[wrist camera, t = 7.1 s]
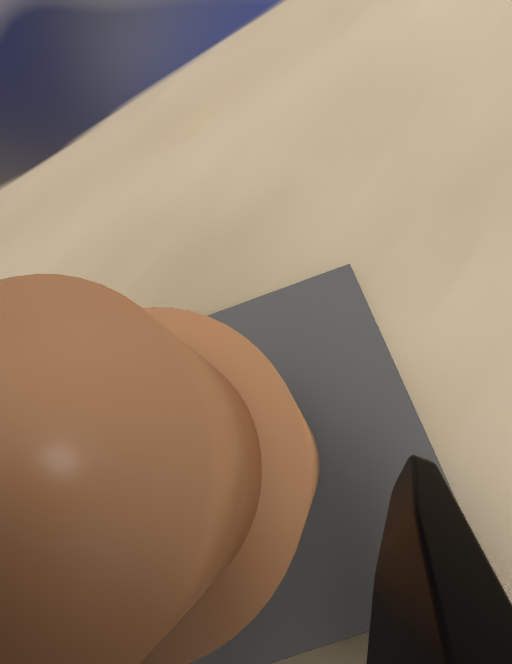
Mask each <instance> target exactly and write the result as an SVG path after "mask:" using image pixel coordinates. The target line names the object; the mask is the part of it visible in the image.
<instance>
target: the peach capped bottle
mask: <svg viewBox="0 0 512 664" xmlns="http://www.w3.org/2000/svg"><path fill="white" fill-rule="evenodd" d="M319 475H320V455H319V450H318V446H317V443H316V440H315V438H314V436H313V434H312V432H311V430H310V428H309V426H308V424H307V422H306V420H305V419H304V417H303V415H302V413H301V411H300V409H299V408H298V406H297V404H296V402H295V400H294V398H293V396H292V395H291V393H290V391H289V389H288V387H287V385H286V384H285V382H284V380H283V379H282V377H281V376H280V374H279V373H278V371H277V370H276V369H275V367H274V366H273V364H272V363H271V362H270V361H269V360H268V359H267V357H266V356H265V355H264V354H263V353H262V352H261V351H260V350H259V349H258V348H257V347H256V346H255V345H254V344H253V343H251V342H250V341H249V340H248V339H247V338H246V337H244V336H243V335H242V334H240V333H239V332H237V331H235V330H234V329H232V328H231V327H229V326H228V325H226V324H224V323H222V322H219V321H217V320H215V319H213V318H211V317H208V316H205V315H202V314H199V313H195V312H192V311H187V310H181V309H175V308H155V307H152V308H141V307H140V306H139V305H137V304H136V303H134V302H133V301H131V300H130V299H128V298H127V297H125V296H124V295H122V294H120V293H118V292H116V291H114V290H112V289H110V288H108V287H106V286H104V285H102V284H98V283H95V282H92V281H89V280H85V279H82V278H77V277H71V276H64V275H57V274H33V275H24V276H16V277H10V278H6V279H2V280H0V664H189V663H191V662H193V661H196V660H198V659H200V658H202V657H204V656H206V655H208V654H210V653H212V652H213V651H215V650H216V649H218V648H219V647H221V646H222V645H224V644H225V643H227V642H228V641H229V640H231V639H232V638H234V637H235V636H236V635H237V634H238V633H239V632H240V631H241V630H242V629H244V628H245V627H246V626H247V625H248V624H249V623H250V622H251V621H252V620H253V619H254V618H255V617H256V616H257V614H258V613H259V612H260V611H261V610H262V608H263V607H264V606H265V605H266V603H267V602H268V601H269V600H270V599H271V597H272V595H273V594H274V592H275V590H276V589H277V587H278V586H279V584H280V582H281V581H282V579H283V578H284V576H285V574H286V572H287V569H288V567H289V565H290V563H291V561H292V558H293V556H294V554H295V552H296V549H297V546H298V543H299V540H300V537H301V534H302V531H303V528H304V525H305V522H306V519H307V516H308V512H309V509H310V506H311V503H312V500H313V497H314V494H315V491H316V488H317V485H318V481H319Z"/></svg>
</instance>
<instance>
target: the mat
mask: <svg viewBox="0 0 512 664" xmlns="http://www.w3.org/2000/svg"><path fill="white" fill-rule="evenodd" d="M208 317H211V318H213V319H215V320H217V321H219V322H222V323H224V324H226V325H228V326H229V327H231V328H232V329H234V330H235V331H237V332H239V333H240V334H242V335H243V336H244V337H246V338H247V339H248V340H249V341H250V342H251V343H253V344H254V345H255V346H256V347H257V348H258V349H259V350H260V351H261V352H262V353H263V354H264V355H265V356H266V357H267V359H268V360H269V361H270V362H271V363H272V364H273V366H274V367H275V369H276V370H277V371H278V373H279V374H280V376H281V377H282V379H283V380H284V382H285V384H286V385H287V387H288V389H289V391H290V393H291V395H292V396H293V398H294V400H295V402H296V404H297V406H298V408H299V409H300V411H301V413H302V415H303V417H304V419H305V420H306V422H307V424H308V426H309V428H310V430H311V432H312V434H313V436H314V438H315V440H316V443H317V446H318V450H319V455H320V475H319V481H318V485H317V488H316V491H315V494H314V497H313V500H312V503H311V506H310V509H309V512H308V516H307V519H306V522H305V525H304V528H303V531H302V534H301V537H300V540H299V543H298V546H297V549H296V552H295V554H294V556H293V558H292V561H291V563H290V565H289V567H288V569H287V572H286V574H285V576H284V578H283V579H282V581H281V582H280V584H279V586H278V587H277V589H276V590H275V592H274V594H273V595H272V597H271V599H270V600H269V601H268V602H267V603H266V605H265V606H264V607H263V608H262V610H261V611H260V612H259V613H258V614H257V616H256V617H255V618H254V619H253V620H252V621H251V622H250V623H249V624H248V625H247V626H246V627H245V628H244V629H242V630H241V631H240V632H239V633H238V634H237V635H236V636H235V637H234V638H232V639H231V640H229V641H228V642H227V643H225V644H224V645H222V646H221V647H219V648H218V649H216V650H215V651H213V652H212V653H210V654H208V655H206V656H204V657H202V658H200V659H198V660H196V661H193V662H191V663H189V664H270V663H273V662H276V661H279V660H282V659H285V658H288V657H291V656H294V655H297V654H301V653H304V652H307V651H310V650H313V649H316V648H319V647H322V646H325V645H328V644H331V643H334V642H337V641H340V640H343V639H346V638H349V637H352V636H355V635H358V634H361V633H364V632H367V631H370V620H371V608H372V596H373V586H374V577H375V571H376V566H377V560H378V556H379V551H380V546H381V541H382V536H383V532H384V527H385V522H386V517H387V512H388V508H389V503H390V498H391V494H392V490H393V487H394V485H395V483H396V481H397V479H398V477H399V475H400V473H401V471H402V469H403V467H404V465H405V463H406V461H407V460H408V458H409V457H410V456H411V455H417V456H420V457H423V458H425V459H428V460H430V461H433V462H434V463H435V464H436V465H437V466H438V468H439V470H440V472H441V473H442V475H443V477H444V479H445V481H446V483H447V485H448V487H449V488H450V486H449V483H448V481H447V479H446V477H445V475H444V472H443V470H442V468H441V466H440V463H439V461H438V459H437V457H436V455H435V452H434V450H433V448H432V446H431V444H430V441H429V439H428V437H427V435H426V432H425V430H424V428H423V426H422V424H421V421H420V419H419V417H418V415H417V412H416V410H415V408H414V406H413V404H412V401H411V399H410V397H409V395H408V392H407V390H406V388H405V386H404V384H403V381H402V379H401V377H400V375H399V373H398V370H397V368H396V366H395V364H394V361H393V359H392V357H391V355H390V353H389V350H388V348H387V346H386V344H385V341H384V339H383V337H382V335H381V333H380V330H379V328H378V326H377V324H376V322H375V319H374V317H373V315H372V313H371V310H370V308H369V306H368V304H367V302H366V299H365V297H364V295H363V293H362V290H361V288H360V286H359V284H358V282H357V279H356V277H355V275H354V273H353V270H352V268H351V266H350V264H348V265H345V266H342V267H339V268H337V269H334V270H331V271H328V272H326V273H323V274H320V275H318V276H315V277H312V278H309V279H307V280H304V281H301V282H298V283H296V284H293V285H290V286H288V287H285V288H282V289H279V290H277V291H274V292H271V293H268V294H266V295H263V296H260V297H257V298H255V299H252V300H249V301H247V302H244V303H241V304H238V305H236V306H233V307H230V308H227V309H225V310H222V311H219V312H217V313H214V314H211V315H208ZM450 490H451V488H450ZM451 492H452V490H451ZM452 494H453V492H452ZM453 496H454V495H453ZM454 498H455V497H454ZM455 500H456V499H455Z"/></svg>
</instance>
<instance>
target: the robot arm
mask: <svg viewBox="0 0 512 664" xmlns="http://www.w3.org/2000/svg"><path fill="white" fill-rule="evenodd" d="M367 664H512V604H511V602H510V600H509V598H508V596H507V594H506V593H505V591H504V589H503V587H502V585H501V583H500V581H499V580H498V578H497V576H496V574H495V572H494V570H493V568H492V567H491V565H490V563H489V561H488V559H487V557H486V555H485V553H484V552H483V550H482V548H481V546H480V544H479V542H478V540H477V539H476V537H475V535H474V533H473V531H472V529H471V527H470V526H469V524H468V522H467V520H466V518H465V516H464V514H463V513H462V511H461V509H460V507H459V505H458V503H457V501H456V500H455V498H454V496H453V494H452V492H451V490H450V488H449V487H448V485H447V483H446V481H445V479H444V477H443V475H442V473H441V472H440V470H439V468H438V466H437V465H436V464H435V463H434V462H433V461H430V460H428V459H425V458H423V457H420V456H417V455H411V456H410V457H409V458H408V460H407V461H406V463H405V465H404V467H403V469H402V471H401V473H400V475H399V477H398V479H397V481H396V483H395V485H394V487H393V490H392V494H391V498H390V503H389V508H388V512H387V517H386V522H385V527H384V532H383V536H382V541H381V546H380V551H379V556H378V560H377V566H376V571H375V577H374V586H373V596H372V608H371V620H370V632H369V644H368V656H367Z"/></svg>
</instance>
